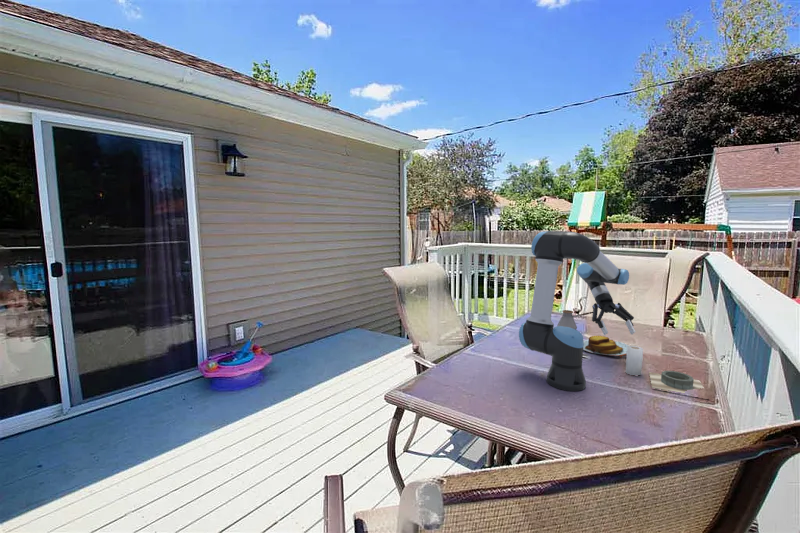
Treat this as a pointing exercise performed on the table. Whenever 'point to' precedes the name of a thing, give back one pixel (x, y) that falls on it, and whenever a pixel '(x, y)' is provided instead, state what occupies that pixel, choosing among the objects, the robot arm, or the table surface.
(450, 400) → the table surface
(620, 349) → the food on plate
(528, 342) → the robot arm
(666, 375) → the roll holder
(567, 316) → the coffee pot
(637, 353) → the paper roll
